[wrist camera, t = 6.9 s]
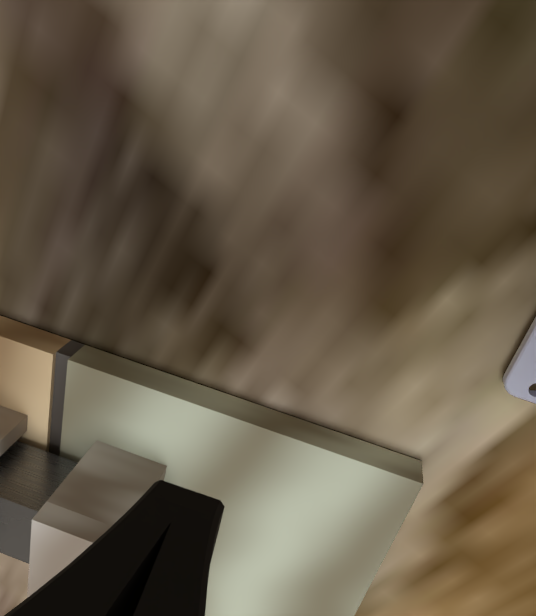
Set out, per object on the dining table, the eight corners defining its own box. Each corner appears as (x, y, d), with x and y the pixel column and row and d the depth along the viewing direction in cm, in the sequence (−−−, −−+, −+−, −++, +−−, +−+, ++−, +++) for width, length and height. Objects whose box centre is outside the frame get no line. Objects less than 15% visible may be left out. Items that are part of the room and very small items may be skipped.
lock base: (421, 461, 19) (431, 588, 14) (326, 648, 24) (310, 786, 19) (-75, 289, 21) (-213, 351, 16) (-62, 498, 26) (-163, 592, 21)
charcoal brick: (167, 496, 20) (139, 549, 18) (156, 546, 22) (128, 602, 19) (-37, 421, 21) (-90, 463, 19) (-35, 473, 22) (-84, 519, 20)
